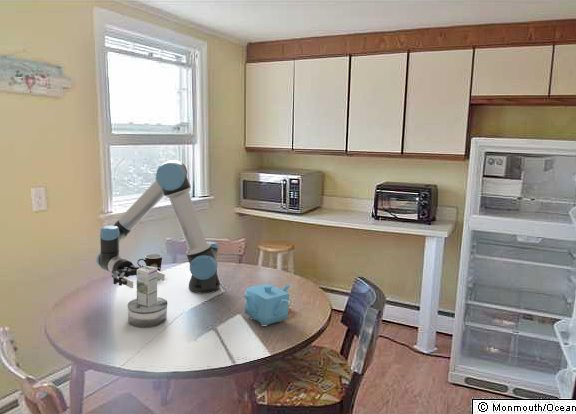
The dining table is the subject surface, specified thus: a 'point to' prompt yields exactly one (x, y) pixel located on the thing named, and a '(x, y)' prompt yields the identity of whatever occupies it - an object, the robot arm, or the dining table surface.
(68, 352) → the dining table surface
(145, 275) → the syrup box
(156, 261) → the coffee mug
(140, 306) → the cookie tin
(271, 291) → the teakettle
